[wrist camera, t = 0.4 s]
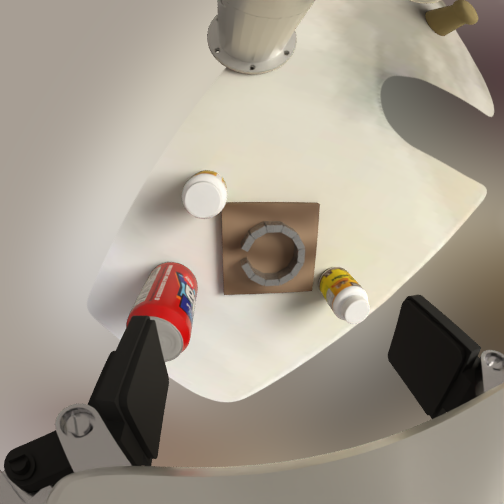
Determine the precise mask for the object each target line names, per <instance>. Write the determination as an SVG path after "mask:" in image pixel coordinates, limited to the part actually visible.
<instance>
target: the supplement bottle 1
mask: <svg viewBox="0 0 504 504" xmlns="http://www.w3.org/2000/svg"><path fill="white" fill-rule="evenodd" d="M226 201H227V187H226V183H225V181H224V179H223V178H222V176H221V175H219V174H218V173H216V172H214V171H210V170H205V171H201V172H199V173H197V174H195V175H194V176H193V177H192V178H190V179H189V180H188V181H187V183H186V184H185V186H184V188H183V191H182V202H183V205H184V207H185V209H186V210H187V211H188V212H189V213H190V214H191V215H193V216H195V217H197V218H201V219H207V218H211V217H214V216H216V215H217V214H219V213H220V212H221V211H222V209H223V208H224V206H225V204H226Z"/></svg>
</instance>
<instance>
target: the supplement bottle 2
mask: <svg viewBox="0 0 504 504" xmlns="http://www.w3.org/2000/svg"><path fill="white" fill-rule="evenodd" d="M319 289H320V291H321V293H322V295H323V296H324V298H325V299H326V301H327V302H328V304H329V306H330V307H331V309H332V310H333V312H334V314H335V315H336V316H337V317H338V318H340V319H342V320H346V321H347V322H348V323H350V324H357V323H360V322H361V321H363V320H364V319H365V318H366V317H367V316H368V314H369V311H370V306H369V303H368V296H367V293H366V292H365V290H364V289H363V288H362V287H361V286H360V285H359V284H358V283H357V282H356V280H355V279H354V278H353V277H352V276H351V275H350V274H349V273H348V272H347V271H346V270H345V269H343V268H341V267H333V268H330V269H328V270H326V271H325V272H324V273H323V274H322V276H321V277H320V280H319Z"/></svg>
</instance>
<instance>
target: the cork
mask: <svg viewBox="0 0 504 504" xmlns="http://www.w3.org/2000/svg"><path fill="white" fill-rule="evenodd" d="M425 17H426V21H427V23H428V25H429V26H430V27H431V29H432V30H433V31H434V32H435V33H437V34H438V35H441V36H445V35H447V34H448V33H450V32H452V31H454V30H455V29H457V28H459V27H461V26H462V25H464V24H469V25H472V24H475V23H477V21H478V15H477V13H476V11H475V9H474V8H473V6H472V5H471V4H470V3H468V2H467V1H465V0H457V1H455V2H454V4H453V5H451V6H446V7H442V8H438V9H434V10H430V11H427V12H426V14H425Z"/></svg>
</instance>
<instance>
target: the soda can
mask: <svg viewBox="0 0 504 504" xmlns="http://www.w3.org/2000/svg"><path fill="white" fill-rule="evenodd" d="M197 289H198V286H197V281H196V278H195V276H194V274H193V273H192V272H191V271H190V270H189V269H188V268H187V267H185V266H184V265H181V264H179V263H174V262H167V263H163V264H160V265H159V266H157V267H156V268H155V269H154V270H153V271H152V272H151V274H150V275H149V277H148V279H147V281H146V283H145V285H144V287H143V289H142V291H141V292H140V294H139V296H138V298H137V300H136V302H135V304H134V306H133V308H132V310H131V312H130V314H129V316H128V319H127V324H126V328H127V326H128V324H129V322H130V320H131V318H132V316H149V317H150V320H155V322H156V326H157V331H158V336H159V340H160V345H161V349H162V353H163V357H164V361H165V362H167V361H171V360H173V359H175V358H176V357H178V356H179V354H180V353H181V352H183V351H184V350H185V349H186V347H187V346H188V344H189V341H190V337H191V330H192V323H193V316H194V309H195V303H196V297H197Z"/></svg>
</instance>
